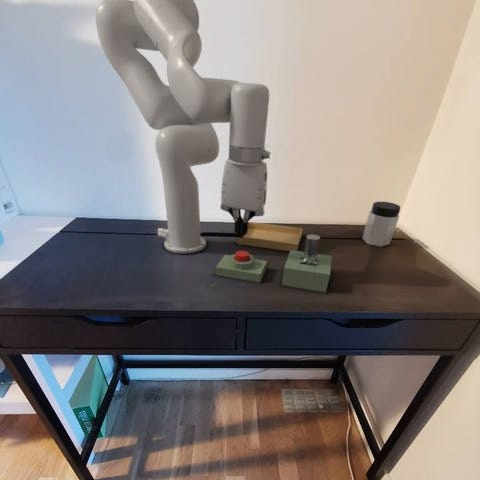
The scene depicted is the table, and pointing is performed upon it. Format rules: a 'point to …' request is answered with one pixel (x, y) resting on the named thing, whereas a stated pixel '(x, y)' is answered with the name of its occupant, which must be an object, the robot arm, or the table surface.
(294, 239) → the tray
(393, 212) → the jar
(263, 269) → the stop block
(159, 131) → the robot arm
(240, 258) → the stop button
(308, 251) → the grey peg
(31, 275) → the table surface
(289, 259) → the green slotted base
